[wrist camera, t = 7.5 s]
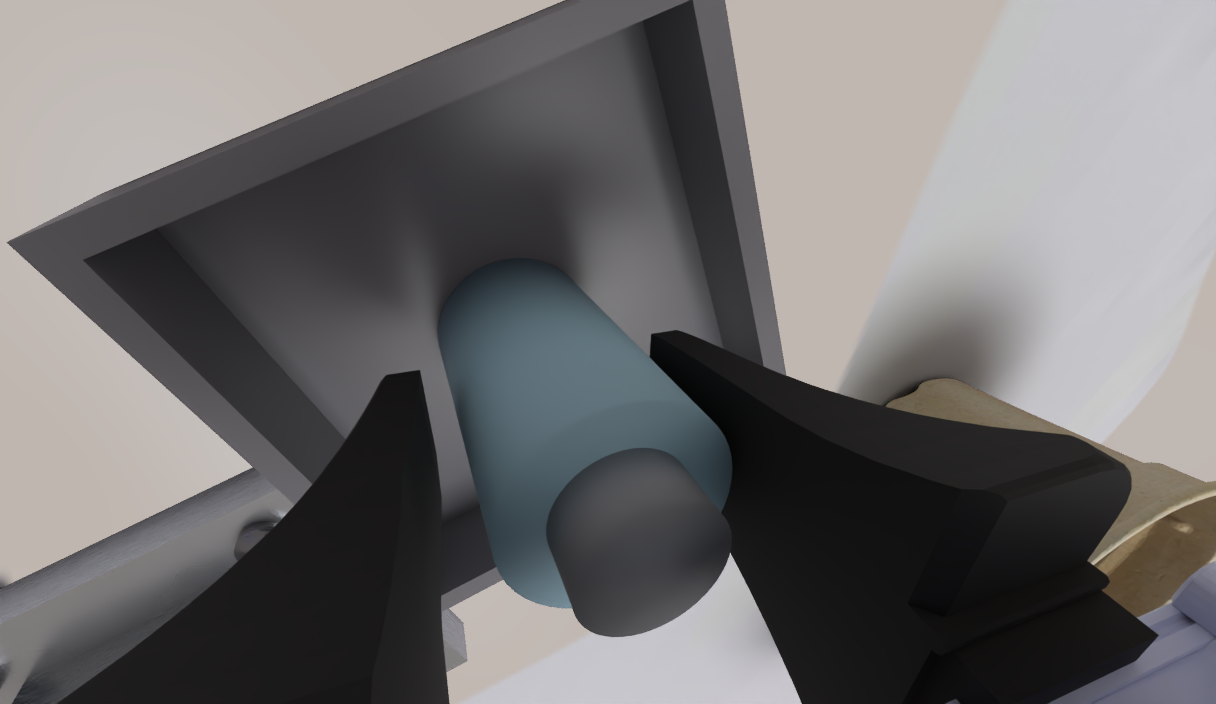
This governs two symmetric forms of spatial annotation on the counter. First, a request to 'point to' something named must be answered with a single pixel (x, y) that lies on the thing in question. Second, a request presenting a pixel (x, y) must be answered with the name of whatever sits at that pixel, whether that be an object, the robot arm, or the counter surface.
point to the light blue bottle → (582, 452)
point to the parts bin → (433, 233)
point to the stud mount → (137, 589)
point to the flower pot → (1149, 522)
